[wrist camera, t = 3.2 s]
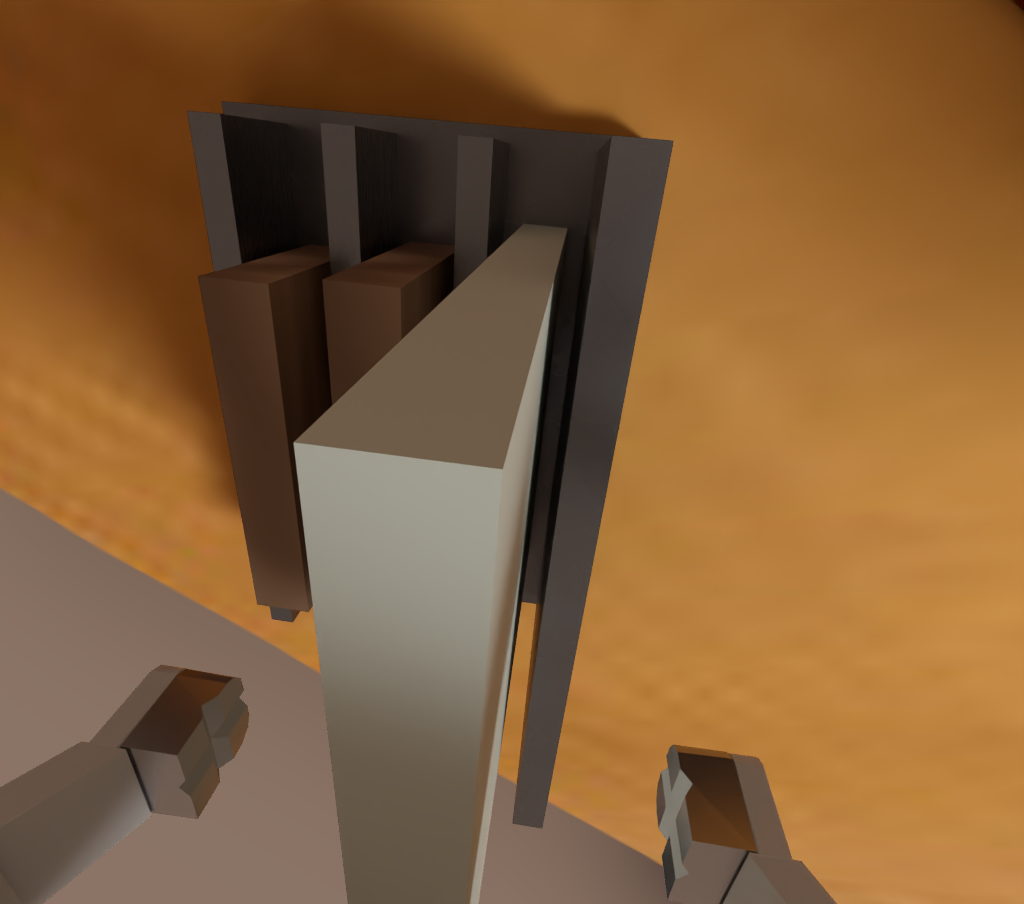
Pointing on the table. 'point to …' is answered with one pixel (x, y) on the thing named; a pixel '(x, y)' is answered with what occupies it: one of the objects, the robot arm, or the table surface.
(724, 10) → the table surface
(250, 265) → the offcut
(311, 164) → the rack
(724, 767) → the robot arm
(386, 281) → the block
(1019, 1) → the smartphone
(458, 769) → the white thin panel
